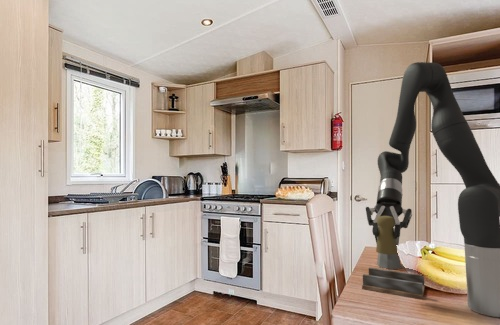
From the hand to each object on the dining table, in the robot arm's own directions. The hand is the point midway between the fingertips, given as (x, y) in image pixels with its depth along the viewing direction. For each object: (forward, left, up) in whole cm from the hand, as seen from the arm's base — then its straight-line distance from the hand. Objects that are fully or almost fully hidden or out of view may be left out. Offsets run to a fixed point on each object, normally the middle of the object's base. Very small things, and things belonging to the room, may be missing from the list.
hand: (385, 236), depth 90 cm
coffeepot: (+6, -37, -18) cm, 42 cm away
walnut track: (0, -10, -18) cm, 21 cm away
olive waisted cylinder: (0, -2, -5) cm, 6 cm away
